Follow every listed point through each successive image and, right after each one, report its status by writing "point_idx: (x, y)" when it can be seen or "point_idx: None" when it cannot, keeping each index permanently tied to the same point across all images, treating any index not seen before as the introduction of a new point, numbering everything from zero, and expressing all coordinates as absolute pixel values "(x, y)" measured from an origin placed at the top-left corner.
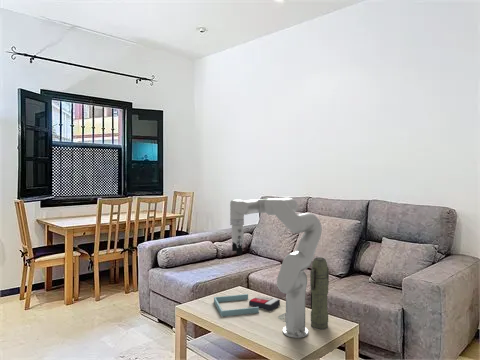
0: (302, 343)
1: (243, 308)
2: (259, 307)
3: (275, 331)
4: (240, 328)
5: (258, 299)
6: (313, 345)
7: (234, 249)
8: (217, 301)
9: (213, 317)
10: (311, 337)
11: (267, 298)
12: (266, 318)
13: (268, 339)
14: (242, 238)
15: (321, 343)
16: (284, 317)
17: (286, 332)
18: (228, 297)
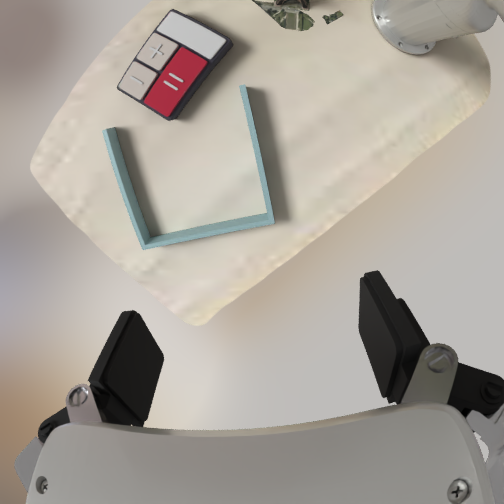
0: None
1: (254, 143)
2: (202, 81)
3: (397, 68)
4: (369, 164)
5: (166, 83)
6: None
7: (150, 356)
8: (181, 237)
9: (277, 240)
10: None
11: (157, 50)
12: (301, 67)
13: (436, 104)
14: (483, 499)
15: None
16: (296, 11)
17: (420, 48)
18: (130, 199)
